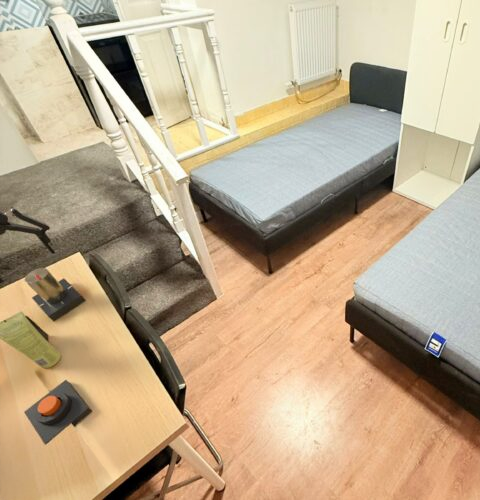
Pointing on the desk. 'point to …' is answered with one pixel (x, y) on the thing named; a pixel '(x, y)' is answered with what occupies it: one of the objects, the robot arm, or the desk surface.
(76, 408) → the dark grey base plate
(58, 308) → the dial panel
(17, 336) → the tube
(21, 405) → the desk surface
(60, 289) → the dial
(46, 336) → the battery charger
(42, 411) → the button
